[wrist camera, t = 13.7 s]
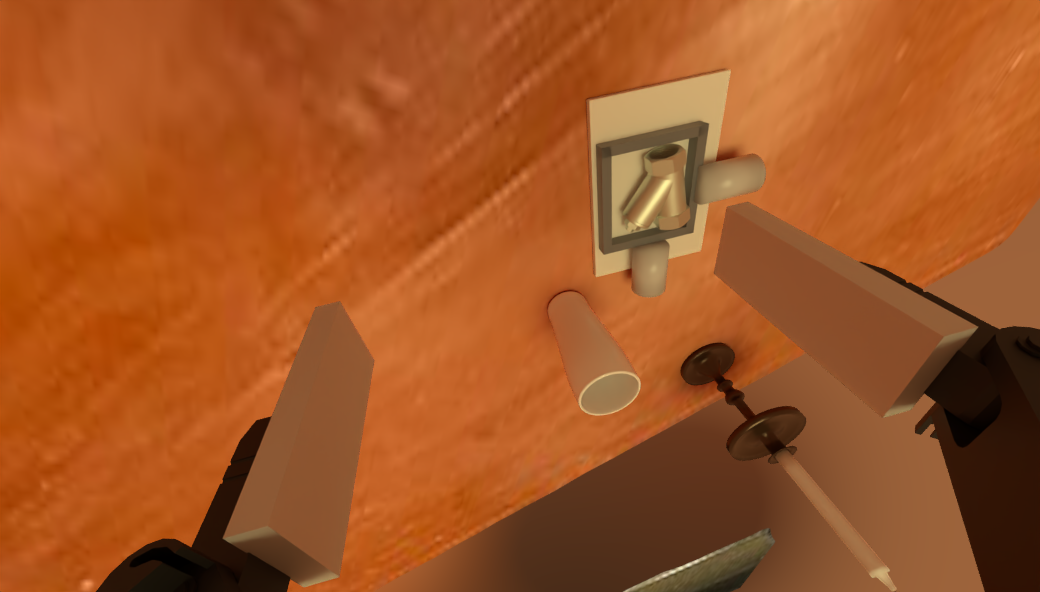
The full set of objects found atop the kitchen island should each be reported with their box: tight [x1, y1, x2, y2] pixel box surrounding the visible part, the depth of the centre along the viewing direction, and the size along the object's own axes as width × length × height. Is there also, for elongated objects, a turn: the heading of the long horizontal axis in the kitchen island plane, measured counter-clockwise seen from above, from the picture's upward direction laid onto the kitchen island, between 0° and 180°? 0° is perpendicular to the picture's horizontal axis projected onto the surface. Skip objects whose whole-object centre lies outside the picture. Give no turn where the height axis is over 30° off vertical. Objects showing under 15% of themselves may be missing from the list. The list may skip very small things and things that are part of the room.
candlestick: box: [681, 343, 897, 592], centre depth 49 cm, size 11×11×35 cm
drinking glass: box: [548, 291, 641, 415], centre depth 43 cm, size 7×7×15 cm
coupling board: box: [586, 69, 766, 297], centre depth 40 cm, size 22×17×5 cm
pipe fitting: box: [622, 144, 690, 232], centre depth 39 cm, size 8×4×7 cm
